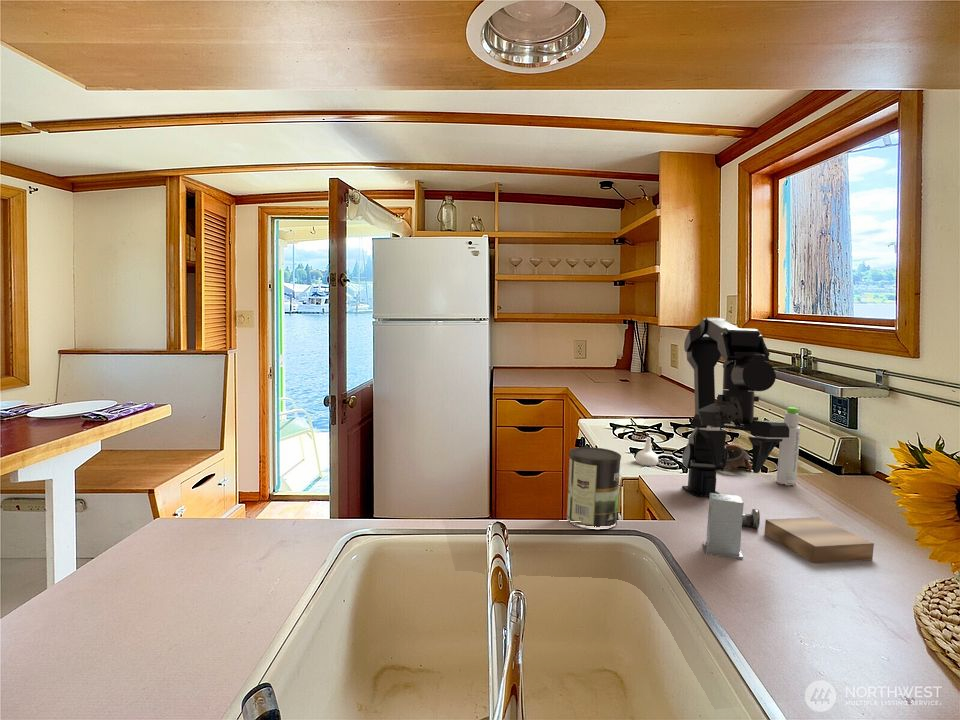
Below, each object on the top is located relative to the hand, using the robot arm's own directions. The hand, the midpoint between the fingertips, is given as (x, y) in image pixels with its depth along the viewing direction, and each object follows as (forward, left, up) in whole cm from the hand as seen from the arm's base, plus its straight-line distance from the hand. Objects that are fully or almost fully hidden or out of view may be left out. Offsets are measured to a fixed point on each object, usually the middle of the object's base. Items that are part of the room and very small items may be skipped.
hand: (735, 468), depth 103 cm
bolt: (-2, +3, -12) cm, 13 cm away
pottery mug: (-38, +28, -13) cm, 49 cm away
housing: (+9, -9, -12) cm, 18 cm away
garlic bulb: (-46, +6, -13) cm, 48 cm away
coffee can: (-7, -27, -13) cm, 31 cm away
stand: (+9, +11, -12) cm, 19 cm away
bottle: (-26, +35, -13) cm, 45 cm away
